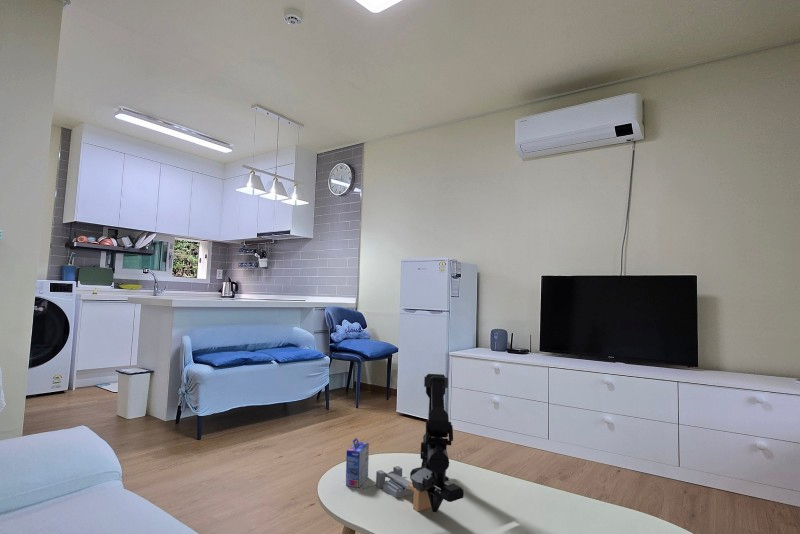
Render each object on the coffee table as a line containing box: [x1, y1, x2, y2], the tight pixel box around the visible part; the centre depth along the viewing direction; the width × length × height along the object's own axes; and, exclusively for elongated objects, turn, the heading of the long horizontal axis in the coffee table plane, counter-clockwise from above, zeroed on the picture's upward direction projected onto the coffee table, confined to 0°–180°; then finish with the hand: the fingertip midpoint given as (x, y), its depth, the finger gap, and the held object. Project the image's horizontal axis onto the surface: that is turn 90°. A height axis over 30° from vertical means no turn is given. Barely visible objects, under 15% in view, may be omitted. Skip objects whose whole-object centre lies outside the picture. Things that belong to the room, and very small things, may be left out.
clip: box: [408, 484, 432, 512], centre depth 137 cm, size 6×6×6 cm
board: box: [362, 465, 414, 499], centre depth 143 cm, size 18×23×6 cm
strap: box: [385, 470, 412, 489], centre depth 146 cm, size 3×13×1 cm, turn 36°
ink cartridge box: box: [345, 437, 370, 488], centre depth 155 cm, size 10×6×14 cm, turn 165°
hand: (434, 511), depth 131 cm, fingers closed
